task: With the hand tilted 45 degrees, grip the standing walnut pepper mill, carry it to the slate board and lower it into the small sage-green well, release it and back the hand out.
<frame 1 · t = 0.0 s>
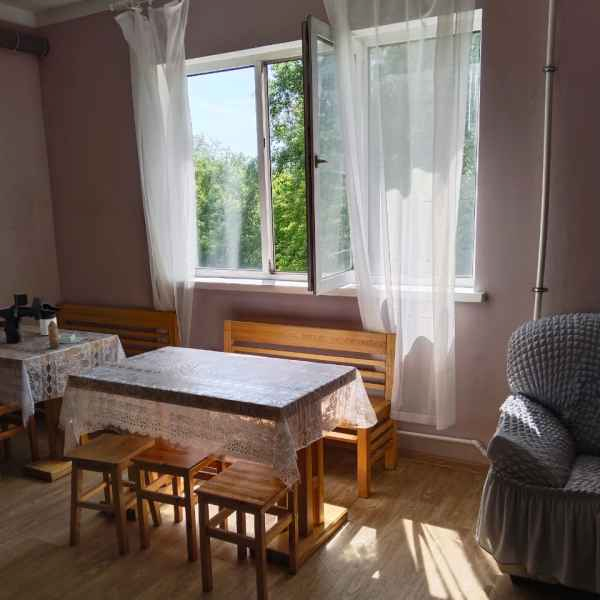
hand: (58, 310, 337), 17 cm above the table, tool horizontal, fingers open, 9 cm apart
well board: (65, 341, 338), on the table
pepper mill: (54, 348, 323), on the table
jar: (49, 334, 355), on the table
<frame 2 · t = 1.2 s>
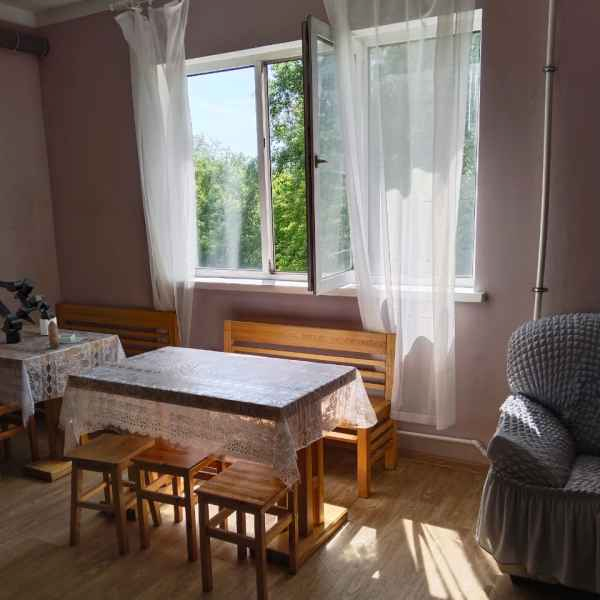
hand: (42, 321, 324), 13 cm above the table, tool tilted 45°, fingers open, 9 cm apart
nothing on the table moved.
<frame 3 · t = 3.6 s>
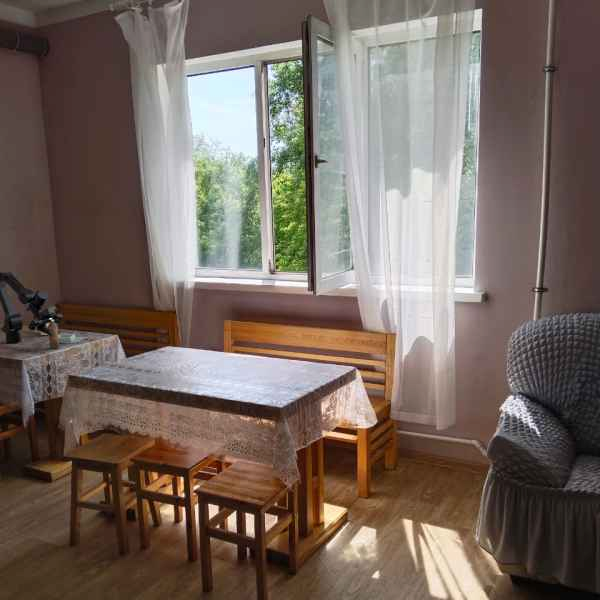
hand: (55, 334, 321), 8 cm above the table, tool tilted 45°, fingers closed on pepper mill, 5 cm apart
pepper mill: (54, 348, 323), on the table, touching gripper
everything else where it was.
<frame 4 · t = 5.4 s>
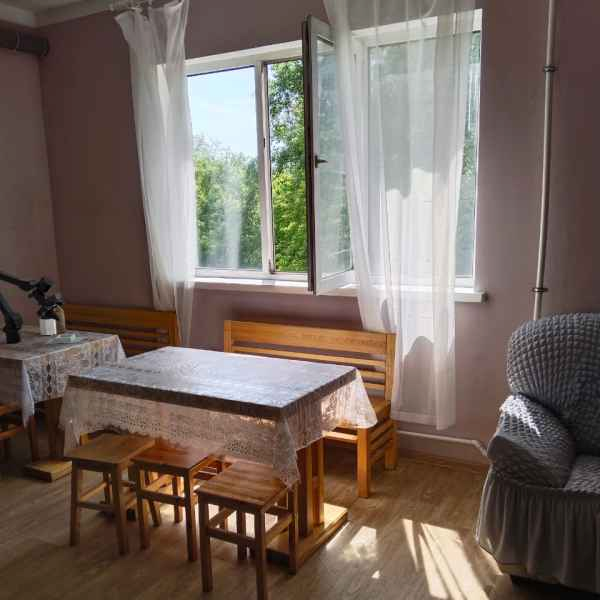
hand: (62, 319, 329), 13 cm above the table, tool tilted 45°, fingers closed on pepper mill, 5 cm apart
pepper mill: (61, 333, 331), point 6 cm above the table, touching gripper
everything else where it was.
when the fingers open (9 cm above the table, at t = 7.2 s): pepper mill drops 1 cm, resting on well board.
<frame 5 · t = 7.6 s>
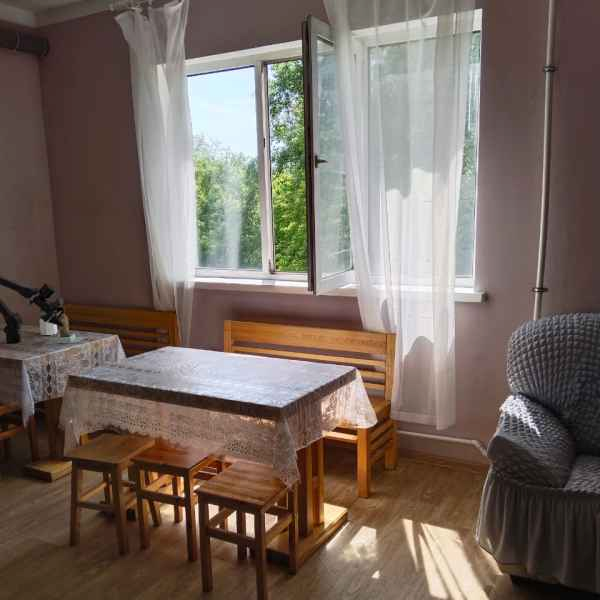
hand: (66, 324, 337), 9 cm above the table, tool tilted 45°, fingers open, 8 cm apart
pepper mill: (65, 340, 338), point 1 cm above the table, touching well board
everything else where it was.
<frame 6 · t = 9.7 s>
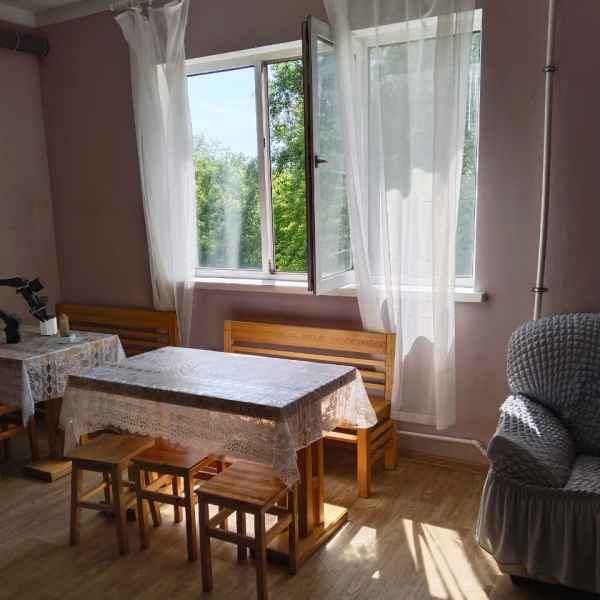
hand: (45, 321, 338), 11 cm above the table, tool tilted 30°, fingers open, 9 cm apart
nothing on the table moved.
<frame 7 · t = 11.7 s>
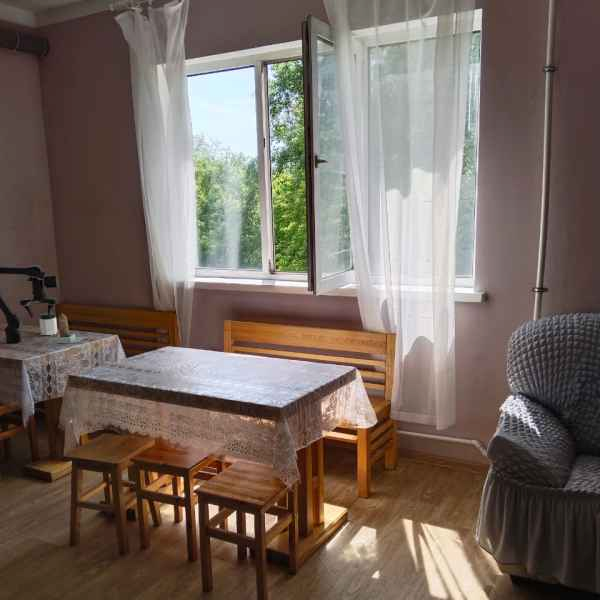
hand: (40, 317, 339), 13 cm above the table, tool pointing down, fingers open, 9 cm apart
nothing on the table moved.
at the end: pepper mill 0.1 cm off-centre on the well board, point 0.6 cm above the well board's base; pepper mill tilted 2°; the gripper is holding nothing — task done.
